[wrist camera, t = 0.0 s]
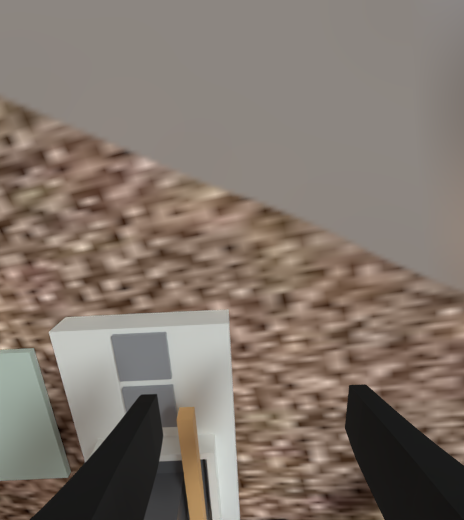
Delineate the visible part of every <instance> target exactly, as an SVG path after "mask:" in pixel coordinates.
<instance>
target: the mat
mask: <svg viewBox="0 0 464 520" xmlns="http://www.w3.org/2000/svg"><path fill="white" fill-rule="evenodd" d="M70 473H71V470H70V467H69V463H68V460H67V457H66V453H65V450H64V447H63V443H62V440H61V437H60V433H59V430H58V427H57V424H56V420H55V417H54V414H53V410H52V407H51V404H50V400H49V397H48V394H47V390H46V387H45V384H44V381H43V377H42V374H41V371H40V367H39V364H38V361H37V357H36V354H35V351H34V348H29V349H8V350H0V481H8V480H29V479H50V478H68V477H69V475H70Z"/></svg>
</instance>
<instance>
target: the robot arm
mask: <svg viewBox="0 0 464 520" xmlns="http://www.w3.org/2000/svg"><path fill="white" fill-rule="evenodd" d="M345 429H346V432H347V435H348V438H349V441H350V444H351V447H352V449H353V452H354V455H355V458H356V460H357V462H358V464H359V467H360V469H361V471H362V473H363V475H364V477H365V479H366V481H367V484H368V486H369V488H370V490H371V492H372V494H373V496H374V498H375V500H376V503H377V505H378V507H379V509H380V511H381V513H382V515H383V517H384V519H385V520H464V465H462V464H461V463H460V462H458V461H457V460H456V459H454V458H453V457H452V456H450V455H449V454H448V453H447V452H445V451H444V450H443V449H441V448H440V447H439V446H438V445H436V444H435V443H434V442H433V441H431V440H430V439H429V438H428V437H426V436H425V435H424V434H423V433H421V432H420V431H419V430H418V429H417V428H415V427H414V426H413V425H412V424H411V423H409V422H408V421H407V420H406V419H405V418H404V417H402V416H401V415H400V414H399V413H398V412H397V411H395V410H394V409H393V408H392V407H391V406H390V405H389V404H387V403H386V402H385V401H384V400H383V399H382V398H381V397H379V396H378V395H377V394H376V393H375V392H374V391H373V390H371V389H370V388H369V387H368V386H367V385H349V394H348V403H347V413H346V423H345ZM162 442H163V429H162V423H161V416H160V410H159V403H158V397H157V394H143V395H140V396H139V397H138V398H137V400H136V401H135V402H134V403H133V405H132V406H131V407H130V409H129V410H128V411H127V413H126V414H125V415H124V416H123V418H122V419H121V420H120V422H119V423H118V424H117V425H116V427H115V428H114V429H113V430H112V432H111V433H110V434H109V435H108V436H107V438H106V439H105V440H104V441H103V442H102V444H101V445H100V446H99V447H98V449H97V450H96V451H95V452H94V453H93V454H92V455H91V457H90V458H89V459H88V460H87V461H86V462H85V463H84V464H83V466H82V467H81V468H80V469H79V470H78V471H77V472H76V473H75V475H74V476H73V477H72V478H71V479H70V480H69V481H68V482H67V483H66V484H65V485H64V486H63V487H62V488H61V489H60V490H59V491H58V493H57V494H56V495H55V496H54V497H53V498H52V499H51V500H50V501H49V502H48V503H47V504H46V505H45V506H44V507H43V508H42V509H41V510H40V511H39V512H37V513H36V514H35V515H34V516H33V517H32V518H31V519H30V520H144V517H145V513H146V510H147V506H148V502H149V499H150V495H151V492H152V488H153V484H154V481H155V477H156V473H157V469H158V465H159V459H160V454H161V448H162Z"/></svg>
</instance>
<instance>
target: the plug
mask: <svg viewBox="0 0 464 520" xmlns="http://www.w3.org/2000/svg"><path fill="white" fill-rule="evenodd" d="M200 462H201V472H202V481H203V490H204V499H205V509H206V518H207V520H209V496H208V486H207V476H206V467H205V459H200ZM144 520H190V516H189V509H188V501H187V494H186V486H185V479H184V472H183V464H182V460H178V461H159V465H158V469H157V473H156V477H155V481H154V484H153V488H152V492H151V495H150V499H149V502H148V506H147V510H146V513H145V517H144Z"/></svg>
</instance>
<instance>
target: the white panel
mask: <svg viewBox="0 0 464 520" xmlns="http://www.w3.org/2000/svg"><path fill="white" fill-rule="evenodd" d="M49 335H50V338H51V342H52V345H53V349H54V353H55V356H56V360H57V363H58V367H59V371H60V374H61V378H62V381H63V385H64V389H65V392H66V396H67V399H68V403H69V407H70V410H71V414H72V417H73V421H74V425H75V428H76V432H77V435H78V439H79V443H80V446H81V450H82V453H83V457H84V461H85V462H86V461H87V460H88V459H89V458H90V457H91V455H92V454H93V453H94V452H95V451H96V450H97V449H98V447H99V446H100V445H101V444H102V442H103V441H104V440H105V439H106V438H107V436H108V435H109V434H110V433H111V432H112V430H113V429H114V428H115V427H116V425H117V424H118V423H119V422H120V420H121V419H122V418H123V416H124V415H125V414H126V413H127V411H128V410H129V409H130V407H131V406H132V405H133V403H134V402H135V401H136V400H137V398H138V397H139V396H140V395H143V394H157V397H158V403H159V410H160V416H161V423H162V429H163V442H162V448H161V454H160V459H159V461H178V460H182V457H181V449H180V442H179V435H178V427H177V416H178V411H179V407H195V416H196V425H197V435H198V444H199V453H200V459H205V467H206V476H207V486H208V496H209V520H240V509H239V491H238V473H237V454H236V436H235V418H234V400H233V381H232V363H231V345H230V327H229V309H227V310H206V311H185V312H164V313H143V314H122V315H101V316H80V317H65V318H64V319H63V320H62V321H61V322H60V323H58V324H57V325H56V326H55V327H54V328H53V329H52V330H51V331H49Z"/></svg>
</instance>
